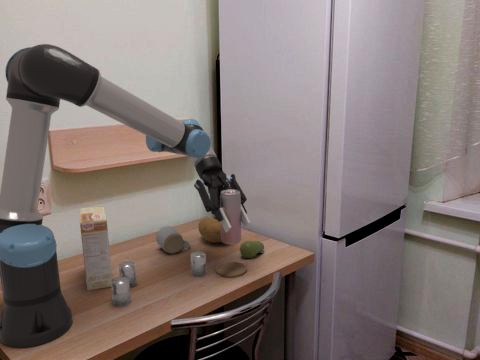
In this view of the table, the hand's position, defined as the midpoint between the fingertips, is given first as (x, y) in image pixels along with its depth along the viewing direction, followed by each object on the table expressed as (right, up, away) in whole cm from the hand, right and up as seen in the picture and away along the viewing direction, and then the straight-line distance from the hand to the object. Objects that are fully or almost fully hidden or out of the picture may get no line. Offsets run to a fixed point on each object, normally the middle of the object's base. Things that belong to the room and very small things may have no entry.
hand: (238, 227), depth 121 cm
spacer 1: (-30, -18, -12) cm, 37 cm away
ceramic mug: (-22, -10, +24) cm, 34 cm away
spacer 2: (-12, -14, +5) cm, 19 cm away
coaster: (-2, -14, +6) cm, 15 cm away
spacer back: (-31, -16, -2) cm, 35 cm away
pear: (+5, -11, +18) cm, 22 cm away
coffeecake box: (-40, -15, +3) cm, 43 cm away
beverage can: (-2, -5, +4) cm, 7 cm away
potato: (-8, -9, +30) cm, 32 cm away
